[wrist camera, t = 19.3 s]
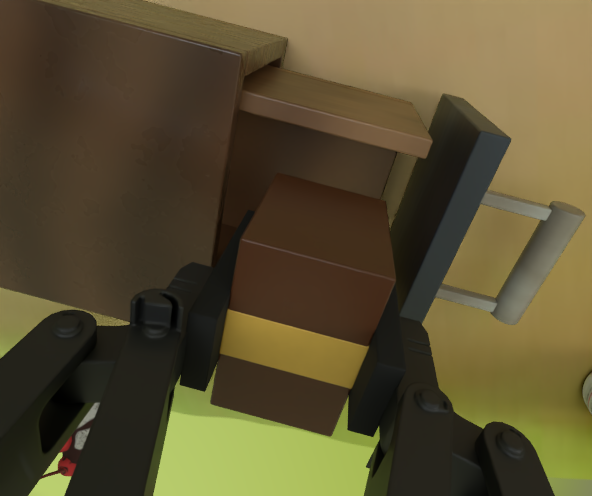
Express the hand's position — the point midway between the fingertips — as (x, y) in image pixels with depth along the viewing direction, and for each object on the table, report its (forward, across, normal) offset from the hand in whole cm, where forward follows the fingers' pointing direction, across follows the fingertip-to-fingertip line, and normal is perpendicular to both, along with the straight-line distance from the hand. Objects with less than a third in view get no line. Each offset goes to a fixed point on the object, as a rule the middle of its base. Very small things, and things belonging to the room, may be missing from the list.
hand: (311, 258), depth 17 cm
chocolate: (0, 0, 0) cm, 0 cm away
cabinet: (+11, -12, 0) cm, 16 cm away
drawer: (+10, +2, 0) cm, 10 cm away
